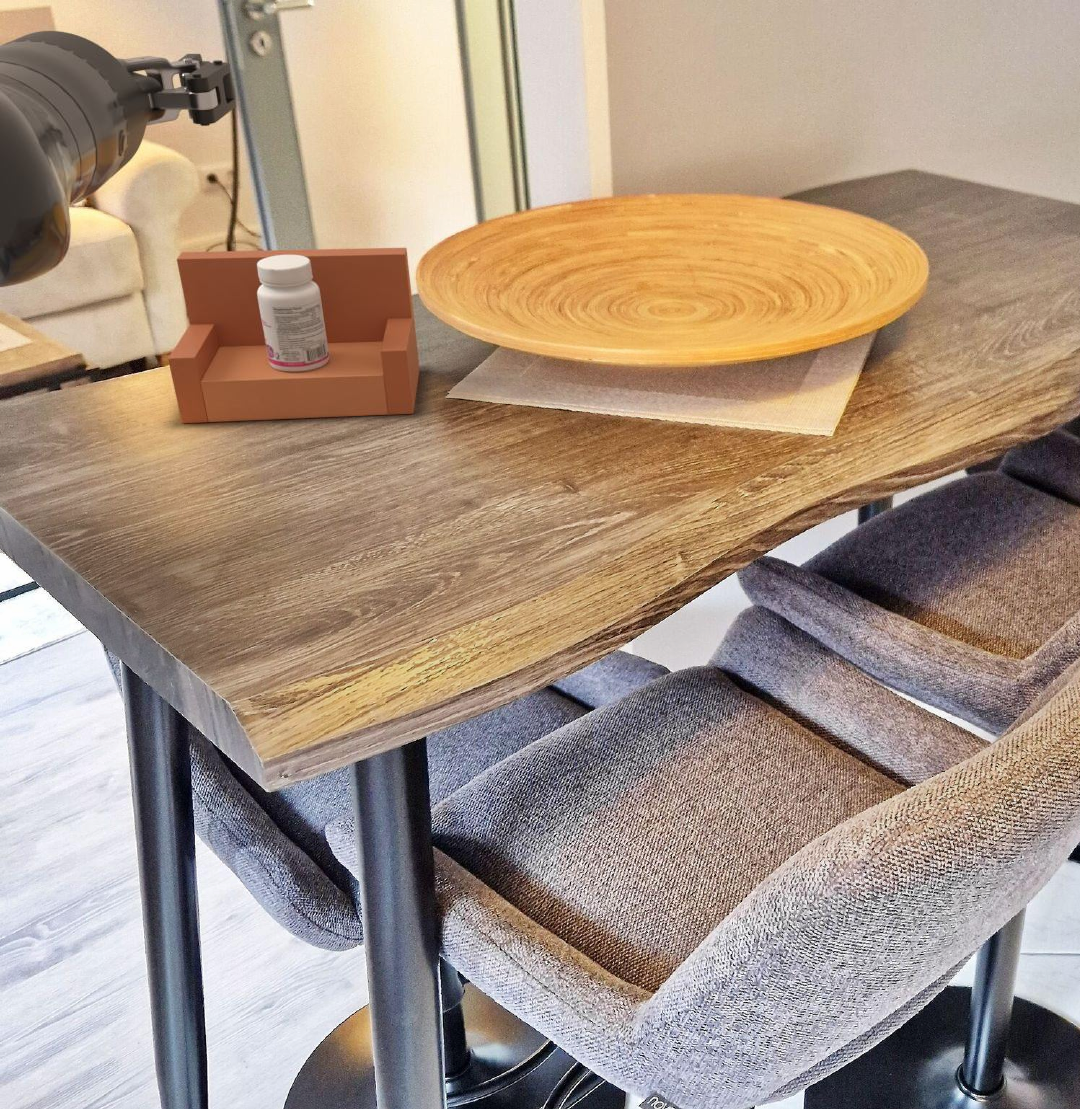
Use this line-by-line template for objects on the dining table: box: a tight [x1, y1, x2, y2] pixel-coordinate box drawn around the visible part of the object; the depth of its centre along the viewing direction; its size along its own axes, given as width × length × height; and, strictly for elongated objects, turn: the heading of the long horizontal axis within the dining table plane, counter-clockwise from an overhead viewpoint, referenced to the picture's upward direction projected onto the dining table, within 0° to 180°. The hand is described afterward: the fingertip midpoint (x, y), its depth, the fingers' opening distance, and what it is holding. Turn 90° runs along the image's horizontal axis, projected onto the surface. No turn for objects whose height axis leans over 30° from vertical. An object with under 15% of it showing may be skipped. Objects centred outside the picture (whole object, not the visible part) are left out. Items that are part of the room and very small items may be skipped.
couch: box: [167, 247, 421, 424], centre depth 101 cm, size 18×10×11 cm, turn 100°
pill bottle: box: [257, 255, 330, 372], centre depth 98 cm, size 5×5×8 cm
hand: (124, 71), depth 75 cm, fingers open, 8 cm apart
